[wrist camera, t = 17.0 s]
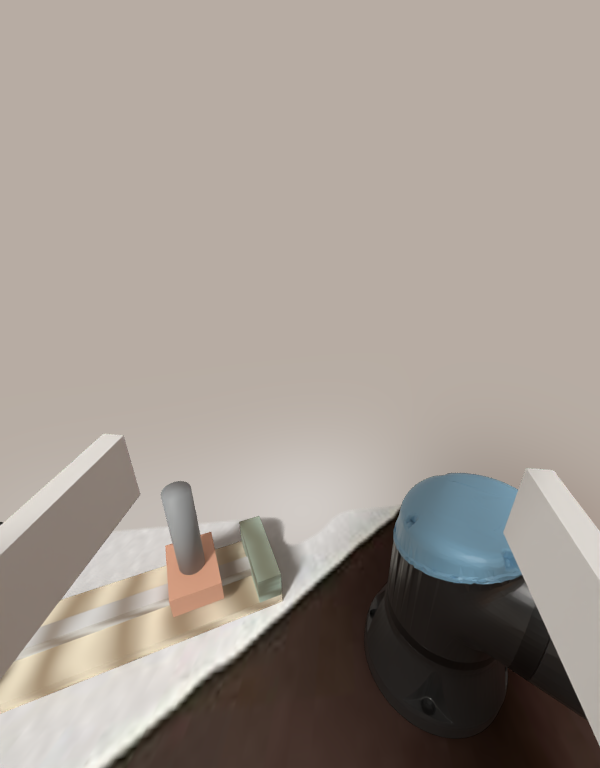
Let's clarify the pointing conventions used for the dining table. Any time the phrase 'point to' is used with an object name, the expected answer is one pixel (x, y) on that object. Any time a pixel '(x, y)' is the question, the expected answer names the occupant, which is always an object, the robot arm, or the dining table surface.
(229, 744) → the dining table surface
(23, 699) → the rail track
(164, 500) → the carriage
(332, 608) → the dining table surface
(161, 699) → the dining table surface
